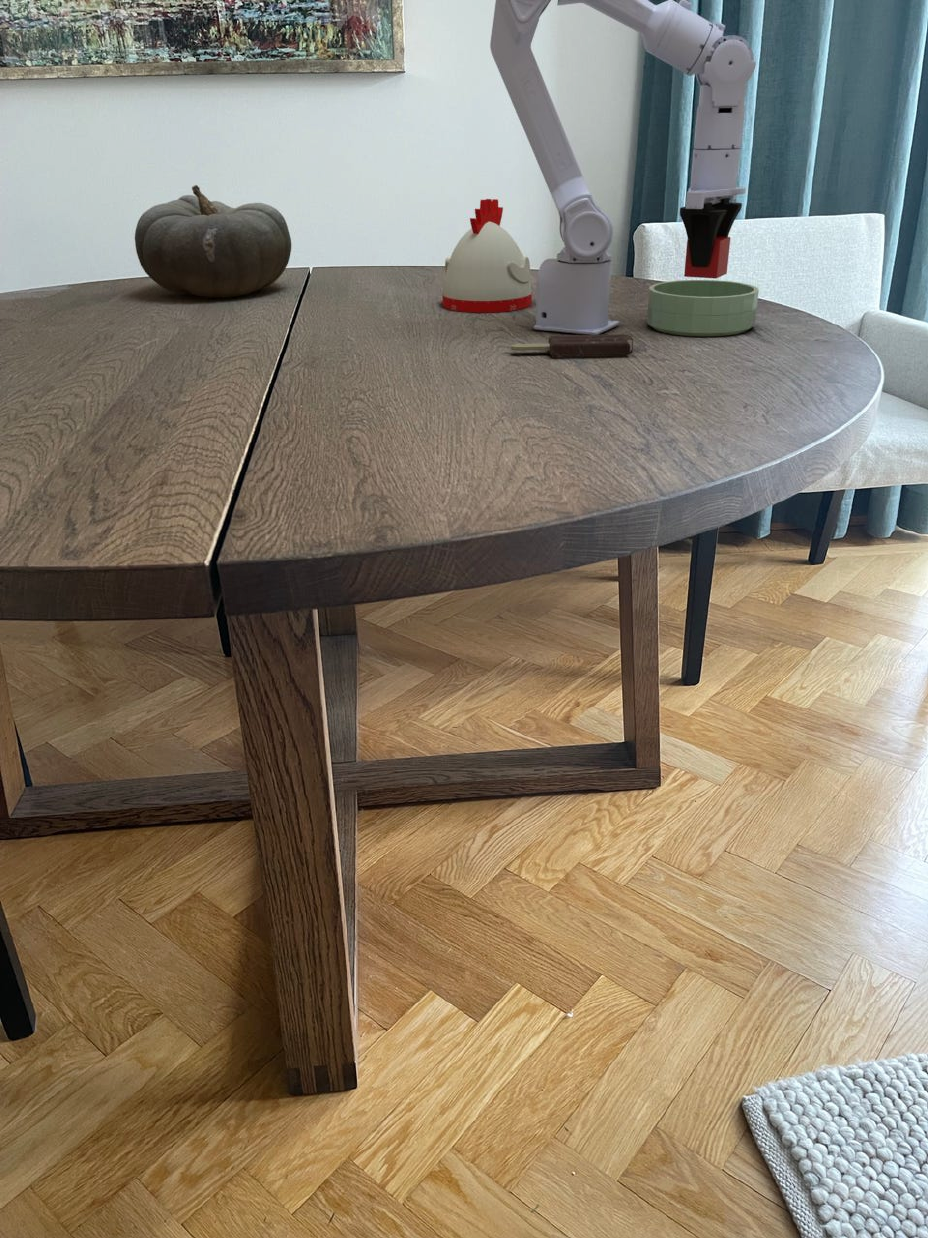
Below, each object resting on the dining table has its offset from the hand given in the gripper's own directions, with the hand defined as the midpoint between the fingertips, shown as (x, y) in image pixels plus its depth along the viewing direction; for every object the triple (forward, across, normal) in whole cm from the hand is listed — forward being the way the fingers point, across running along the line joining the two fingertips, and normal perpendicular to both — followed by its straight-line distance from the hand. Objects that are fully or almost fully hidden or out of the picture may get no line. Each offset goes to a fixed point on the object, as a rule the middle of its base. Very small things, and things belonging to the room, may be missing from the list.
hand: (705, 264), depth 123 cm
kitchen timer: (+8, +3, +35) cm, 36 cm away
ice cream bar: (+8, -22, +9) cm, 25 cm away
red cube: (+1, 0, 0) cm, 1 cm away
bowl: (+8, 0, 0) cm, 8 cm away
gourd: (+8, -5, +83) cm, 84 cm away
